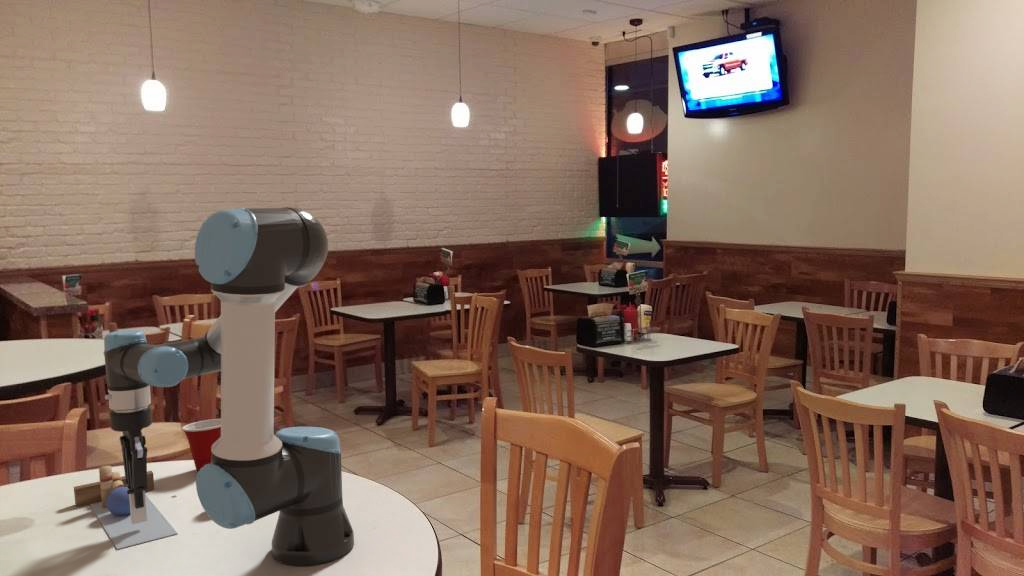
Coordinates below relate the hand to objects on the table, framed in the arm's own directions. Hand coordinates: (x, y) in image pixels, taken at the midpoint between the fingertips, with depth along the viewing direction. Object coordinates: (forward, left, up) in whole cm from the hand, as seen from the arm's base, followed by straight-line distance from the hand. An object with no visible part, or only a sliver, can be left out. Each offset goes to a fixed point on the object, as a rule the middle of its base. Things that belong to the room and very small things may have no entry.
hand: (139, 521), depth 159 cm
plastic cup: (+29, -22, -2) cm, 36 cm away
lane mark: (+8, 0, -2) cm, 8 cm away
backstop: (+24, 0, -2) cm, 24 cm away
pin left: (+18, +2, -2) cm, 19 cm away
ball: (+11, +1, +1) cm, 11 cm away
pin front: (+15, 0, -1) cm, 15 cm away
